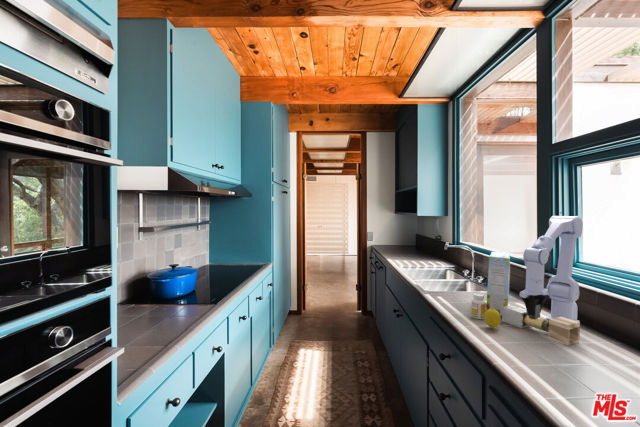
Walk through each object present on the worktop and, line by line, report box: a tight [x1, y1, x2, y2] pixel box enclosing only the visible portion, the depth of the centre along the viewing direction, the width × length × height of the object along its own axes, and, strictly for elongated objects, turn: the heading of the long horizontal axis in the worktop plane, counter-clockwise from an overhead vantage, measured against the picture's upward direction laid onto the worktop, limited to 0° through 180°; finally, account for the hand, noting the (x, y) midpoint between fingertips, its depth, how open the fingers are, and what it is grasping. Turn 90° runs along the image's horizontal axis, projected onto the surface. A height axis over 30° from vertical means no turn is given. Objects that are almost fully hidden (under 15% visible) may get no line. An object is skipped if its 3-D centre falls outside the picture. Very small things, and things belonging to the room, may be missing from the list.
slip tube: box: [523, 304, 549, 333], centre depth 122 cm, size 4×16×9 cm, turn 24°
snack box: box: [485, 251, 511, 317], centre depth 143 cm, size 22×9×26 cm, turn 148°
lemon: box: [483, 308, 502, 329], centre depth 120 cm, size 6×6×8 cm
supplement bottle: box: [470, 293, 487, 320], centre depth 132 cm, size 5×5×10 cm
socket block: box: [548, 317, 581, 346], centre depth 110 cm, size 7×6×7 cm
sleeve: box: [501, 305, 531, 329], centre depth 126 cm, size 6×8×6 cm
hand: (533, 314), depth 120 cm, fingers closed on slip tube, 3 cm apart
